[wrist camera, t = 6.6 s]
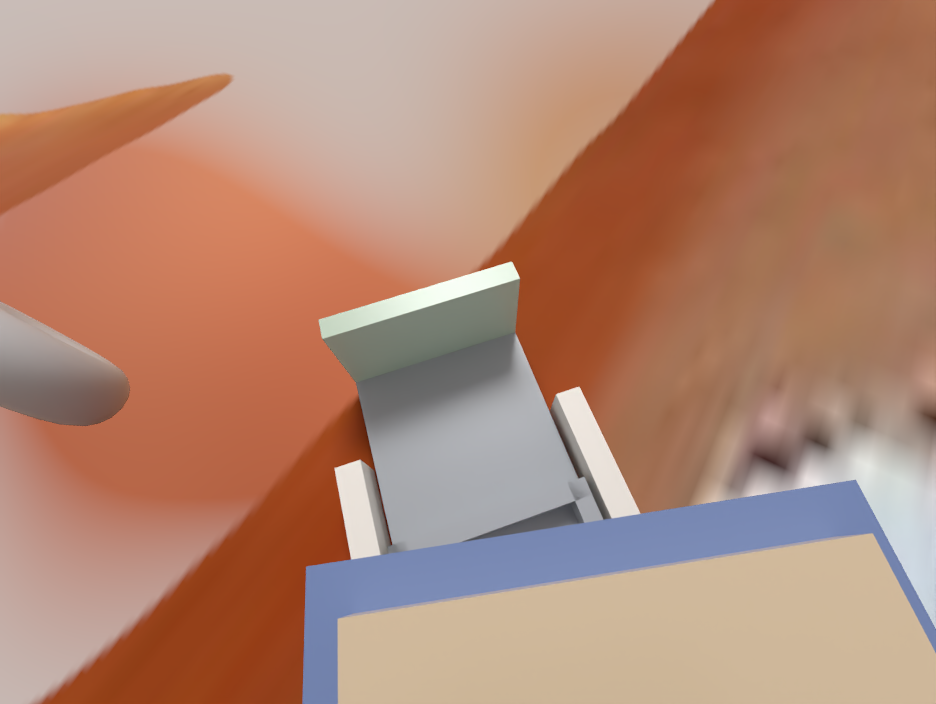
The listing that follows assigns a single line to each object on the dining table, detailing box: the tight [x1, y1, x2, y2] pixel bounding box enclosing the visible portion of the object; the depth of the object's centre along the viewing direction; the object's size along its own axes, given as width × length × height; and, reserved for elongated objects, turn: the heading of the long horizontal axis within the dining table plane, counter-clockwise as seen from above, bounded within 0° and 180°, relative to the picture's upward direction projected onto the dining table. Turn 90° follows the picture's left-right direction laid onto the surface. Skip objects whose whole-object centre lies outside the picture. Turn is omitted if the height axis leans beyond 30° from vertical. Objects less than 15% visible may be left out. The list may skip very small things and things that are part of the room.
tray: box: [319, 262, 603, 554], centre depth 18 cm, size 18×9×6 cm, turn 18°
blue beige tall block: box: [303, 480, 936, 704], centre depth 8 cm, size 5×5×12 cm
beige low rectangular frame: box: [335, 387, 640, 560], centre depth 17 cm, size 19×12×2 cm, turn 18°
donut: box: [0, 302, 130, 426], centre depth 20 cm, size 10×4×10 cm, turn 62°
